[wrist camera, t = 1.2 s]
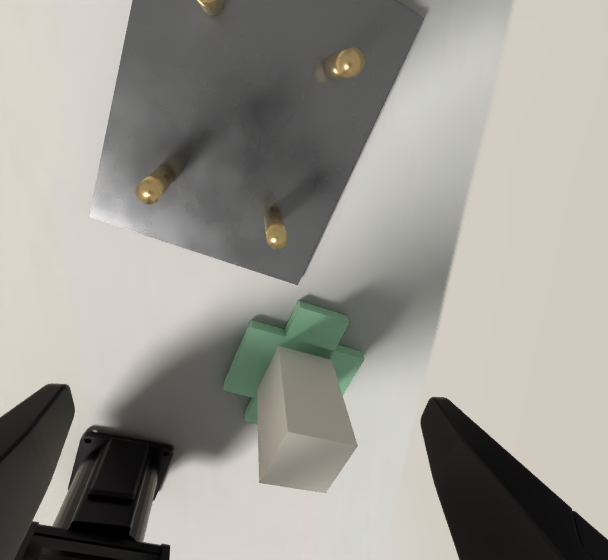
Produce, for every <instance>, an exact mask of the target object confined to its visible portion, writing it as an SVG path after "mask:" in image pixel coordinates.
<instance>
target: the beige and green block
mask: <svg viewBox="0 0 608 560" xmlns="http://www.w3.org/2000/svg"><path fill="white" fill-rule="evenodd" d="M349 324H350V322H349V319H348V317H347V315H344V314H340V313H337V312H334V311H331V310H328V309H325V308H321V307H318V306H315V305H312V304H309V303H306V302H302V301H299V300H298V302H297V305H296V307H295V309H294V311H293V313H292V315H291V317H290V319H289V321H288V323H287V325H286V327H285V329H282V328H279V327H275V326H272V325H268V324H265V323H261V322H258V321H254V320H251V321H250V323H249V325H248V328H247V330H246V332H245V334H244V337H243V339H242V341H241V344H240V346H239V348H238V351H237V353H236V355H235V358H234V360H233V362H232V364H231V367H230V369H229V371H228V374H227V376H226V378H225V381H224V387H223V391H226V392H230V393H234V394H239V395H243V396H248V397H252V398H251V400H250V402H249V404H248V406H247V408H246V410H245V417H244V422H249V423H254V424H258V450H259V483H264V484H270V485H277V486H283V487H290V488H296V489H303V490H309V491H315V492H322V493H326V492H327V490H328V489H329V487H330V486H331V484H332V483H333V482H334V480H335V479H336V477H337V476H338V474H339V473H340V471H341V470H342V468H343V467H344V465H345V464H346V462H347V461H348V459H349V458H350V456H351V455H352V453H353V452H354V450H355V449H356V448H357V442H356V439H355V436H354V432H353V429H352V426H351V422H350V419H349V416H348V412H347V409H346V406H345V402H344V399H343V396H342V395H343V394H344V392H345V390H346V389H347V387H348V386H349V384H350V382H351V381H352V379H353V377H354V376H355V374H356V372H357V371H358V369H359V367H360V366H361V364H362V362H363V361H364V357H363V354H362V352H361V351H359V350H355V349H352V348H348V347H345V346H341V345H338V343H339V341H340V340H341V338H342V336H343V334H344V332H345V331H346V329H347V327H348V325H349Z"/></svg>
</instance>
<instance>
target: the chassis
mask: <svg viewBox="0 0 608 560" xmlns="http://www.w3.org/2000/svg"><path fill="white" fill-rule="evenodd" d="M423 19H424V18H423V17H421V16H420V15H418V14H416V13H415V12H413V11H411V10H410V9H408V8H407V7H405V6H403V5H402V4H400V3H399V2H397V1H395V0H133V1H132V6H131V11H130V16H129V21H128V26H127V31H126V36H125V41H124V46H123V51H122V56H121V61H120V66H119V71H118V76H117V81H116V86H115V91H114V96H113V101H112V106H111V111H110V116H109V121H108V126H107V131H106V135H105V140H104V145H103V150H102V155H101V160H100V165H99V170H98V175H97V180H96V185H95V190H94V195H93V200H92V205H91V210H90V215H89V217H91V218H94V219H97V220H100V221H103V222H106V223H109V224H112V225H115V226H118V227H121V228H125V229H128V230H131V231H134V232H137V233H140V234H143V235H146V236H149V237H152V238H155V239H158V240H161V241H164V242H167V243H170V244H173V245H176V246H180V247H183V248H186V249H189V250H192V251H195V252H198V253H201V254H204V255H207V256H210V257H213V258H216V259H219V260H222V261H225V262H228V263H231V264H234V265H238V266H241V267H244V268H247V269H250V270H253V271H256V272H259V273H262V274H265V275H268V276H271V277H274V278H277V279H280V280H283V281H286V282H289V283H293V284H296V285H298V283H299V281H300V279H301V277H302V275H303V273H304V271H305V269H306V267H307V264H308V262H309V260H310V258H311V256H312V254H313V252H314V250H315V247H316V245H317V243H318V241H319V239H320V237H321V235H322V233H323V230H324V228H325V226H326V224H327V222H328V220H329V218H330V216H331V214H332V211H333V209H334V207H335V205H336V203H337V201H338V199H339V197H340V194H341V192H342V190H343V188H344V186H345V184H346V182H347V180H348V177H349V175H350V173H351V171H352V169H353V167H354V165H355V163H356V161H357V158H358V156H359V154H360V152H361V150H362V148H363V146H364V144H365V141H366V139H367V137H368V135H369V133H370V131H371V129H372V127H373V125H374V122H375V120H376V118H377V116H378V114H379V112H380V110H381V108H382V105H383V103H384V101H385V99H386V97H387V95H388V93H389V91H390V88H391V86H392V84H393V82H394V80H395V78H396V76H397V74H398V72H399V69H400V67H401V65H402V63H403V61H404V59H405V57H406V55H407V52H408V50H409V48H410V46H411V44H412V42H413V40H414V38H415V35H416V33H417V31H418V29H419V27H420V25H421V23H422V21H423Z"/></svg>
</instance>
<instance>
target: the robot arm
mask: <svg viewBox="0 0 608 560" xmlns="http://www.w3.org/2000/svg"><path fill="white" fill-rule="evenodd" d="M74 413H75V407H74V403H73V399H72V394H71V390H70V387H69V386H68V385H67V384H48V385H45V386H44V387H42V388H41V389H40V390H38V391H37V392H35V393H34V394H33V395H31V396H30V397H28V398H27V399H25V400H24V401H23V402H21V403H20V404H18V405H17V406H16V407H14V408H13V409H11V410H10V411H9V412H7V413H6V414H4V415H3V416H2V417H0V560H169V557H170V545H167V544H161V545H157V544H151V543H146V542H143V540H144V536H145V531H146V527H147V523H148V519H149V514H150V510H151V506H152V502H153V501H154V500H155V498H156V495H157V493H158V490H159V488H160V485H161V483H162V480H163V478H164V475H165V473H166V470H167V468H168V465H169V463H170V460H171V458H172V455H173V451H174V448H173V447H172V446H170V445H165V444H160V443H154V442H148V441H142V440H137V439H131V438H125V437H119V436H113V435H108V434H102V433H96V432H85V433H84V434H83V435H82V438H81V440H80V443H79V447H78V451H77V455H76V459H75V463H74V467H73V471H72V475H71V479H70V482H69V486H68V490H69V491H68V493H67V495H66V497H65V500H64V502H63V504H62V506H61V508H60V511H59V513H58V515H57V517H56V520H55V522H54V524H53V526H46V525H41V524H39V522H34V521H32V520H33V518H34V516H35V514H36V512H37V510H38V508H39V506H40V504H41V502H42V500H43V497H44V495H45V493H46V491H47V489H48V486H49V484H50V482H51V479H52V477H53V474H54V471H55V468H56V466H57V463H58V460H59V457H60V454H61V452H62V449H63V446H64V443H65V440H66V438H67V435H68V432H69V429H70V426H71V423H72V421H73V418H74ZM421 429H422V433H423V437H424V442H425V446H426V451H427V455H428V459H429V464H430V468H431V473H432V477H433V480H434V484H435V487H436V491H437V494H438V497H439V500H440V502H441V505H442V508H443V512H444V515H445V517H446V520H447V524H448V527H449V530H450V532H451V536H452V538H453V541H454V545H455V547H456V551H457V554H458V557H459V560H608V539H606V538H605V537H604V536H603V535H602V534H600V533H599V532H598V531H597V530H596V529H595V528H594V527H592V526H591V525H590V524H589V523H588V522H587V521H586V520H584V519H583V518H582V517H581V516H580V515H579V514H578V513H577V512H575V511H572V508H571V507H570V506H568V505H567V504H566V503H565V502H564V501H563V500H562V499H561V498H559V497H558V496H557V495H556V494H555V493H554V492H553V491H551V490H550V489H549V488H548V487H547V486H546V485H545V484H544V483H542V482H541V481H540V480H539V479H538V478H537V477H536V476H535V475H533V474H532V473H531V472H530V471H529V470H528V469H527V468H525V467H524V466H523V465H522V464H521V463H520V462H519V461H517V460H516V459H515V458H514V457H513V456H512V455H511V454H510V453H508V452H507V451H506V450H505V449H504V448H503V447H502V446H501V445H499V444H498V443H497V442H496V441H495V440H494V439H493V438H491V437H490V436H489V435H488V434H487V433H486V432H485V431H484V430H482V429H481V428H480V427H479V426H478V425H477V424H476V423H474V422H473V421H472V420H471V419H470V418H469V417H467V415H465V414H464V413H463V412H462V411H461V410H460V409H459V408H458V407H456V406H455V405H454V404H453V403H452V402H451V401H450V400H448V399H447V398H444V397H432V398H430V399H429V401H428V403H427V405H426V408H425V410H424V412H423V414H422V417H421Z"/></svg>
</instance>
